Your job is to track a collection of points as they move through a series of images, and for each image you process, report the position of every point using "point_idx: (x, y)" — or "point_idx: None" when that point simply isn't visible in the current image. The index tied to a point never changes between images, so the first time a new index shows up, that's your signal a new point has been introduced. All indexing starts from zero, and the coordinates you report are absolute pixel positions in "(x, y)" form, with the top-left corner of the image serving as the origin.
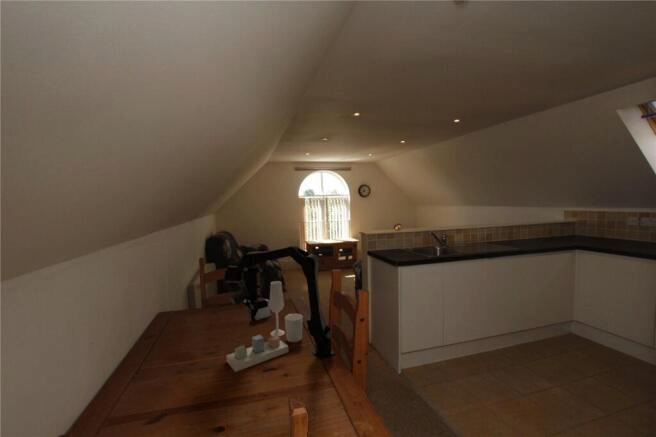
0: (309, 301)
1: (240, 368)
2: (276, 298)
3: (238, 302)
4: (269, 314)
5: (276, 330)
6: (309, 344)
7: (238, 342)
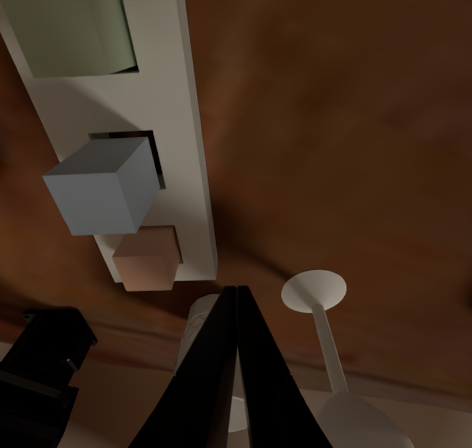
0: None
1: None
2: None
3: None
4: None
5: (312, 300)
6: (147, 325)
7: (390, 113)
